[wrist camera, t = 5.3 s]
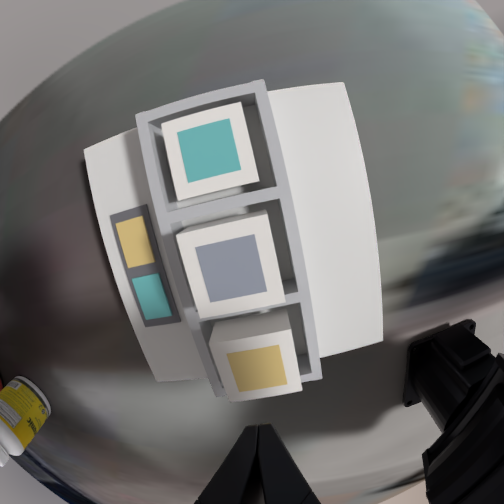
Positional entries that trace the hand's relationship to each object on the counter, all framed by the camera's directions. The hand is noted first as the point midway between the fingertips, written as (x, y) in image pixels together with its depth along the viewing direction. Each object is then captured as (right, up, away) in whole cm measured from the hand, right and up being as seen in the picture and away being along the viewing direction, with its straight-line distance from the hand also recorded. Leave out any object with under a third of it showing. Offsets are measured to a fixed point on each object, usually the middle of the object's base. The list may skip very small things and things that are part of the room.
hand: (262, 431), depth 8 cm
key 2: (0, +1, +6) cm, 6 cm away
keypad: (-1, +6, +8) cm, 10 cm away
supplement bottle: (-23, -9, +12) cm, 28 cm away
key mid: (-1, +6, +5) cm, 7 cm away
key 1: (-2, +10, +5) cm, 12 cm away
